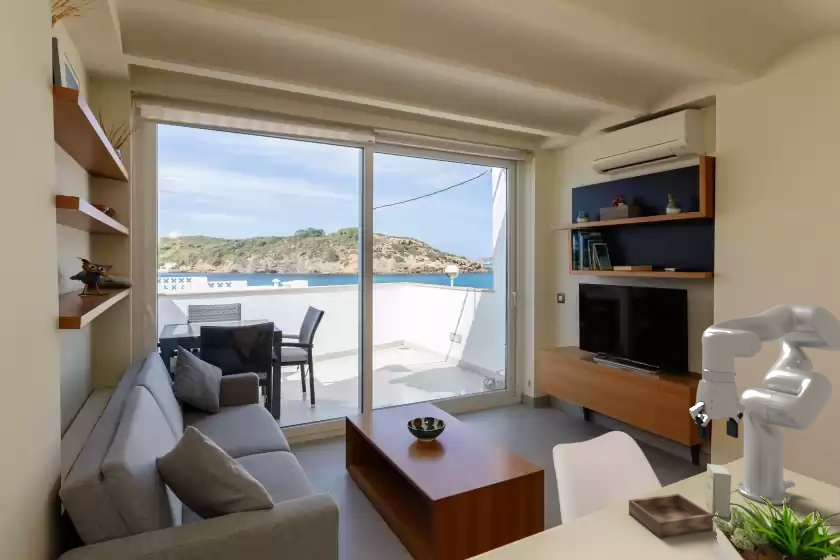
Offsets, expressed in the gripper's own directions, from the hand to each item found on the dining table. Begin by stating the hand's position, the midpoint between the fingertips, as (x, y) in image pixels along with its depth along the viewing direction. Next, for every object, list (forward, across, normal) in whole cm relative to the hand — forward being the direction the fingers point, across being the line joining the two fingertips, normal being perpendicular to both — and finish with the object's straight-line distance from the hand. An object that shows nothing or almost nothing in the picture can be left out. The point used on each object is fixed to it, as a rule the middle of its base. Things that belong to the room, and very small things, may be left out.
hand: (717, 437), depth 126 cm
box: (+21, +17, +2) cm, 27 cm away
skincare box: (+21, 0, 0) cm, 21 cm away
